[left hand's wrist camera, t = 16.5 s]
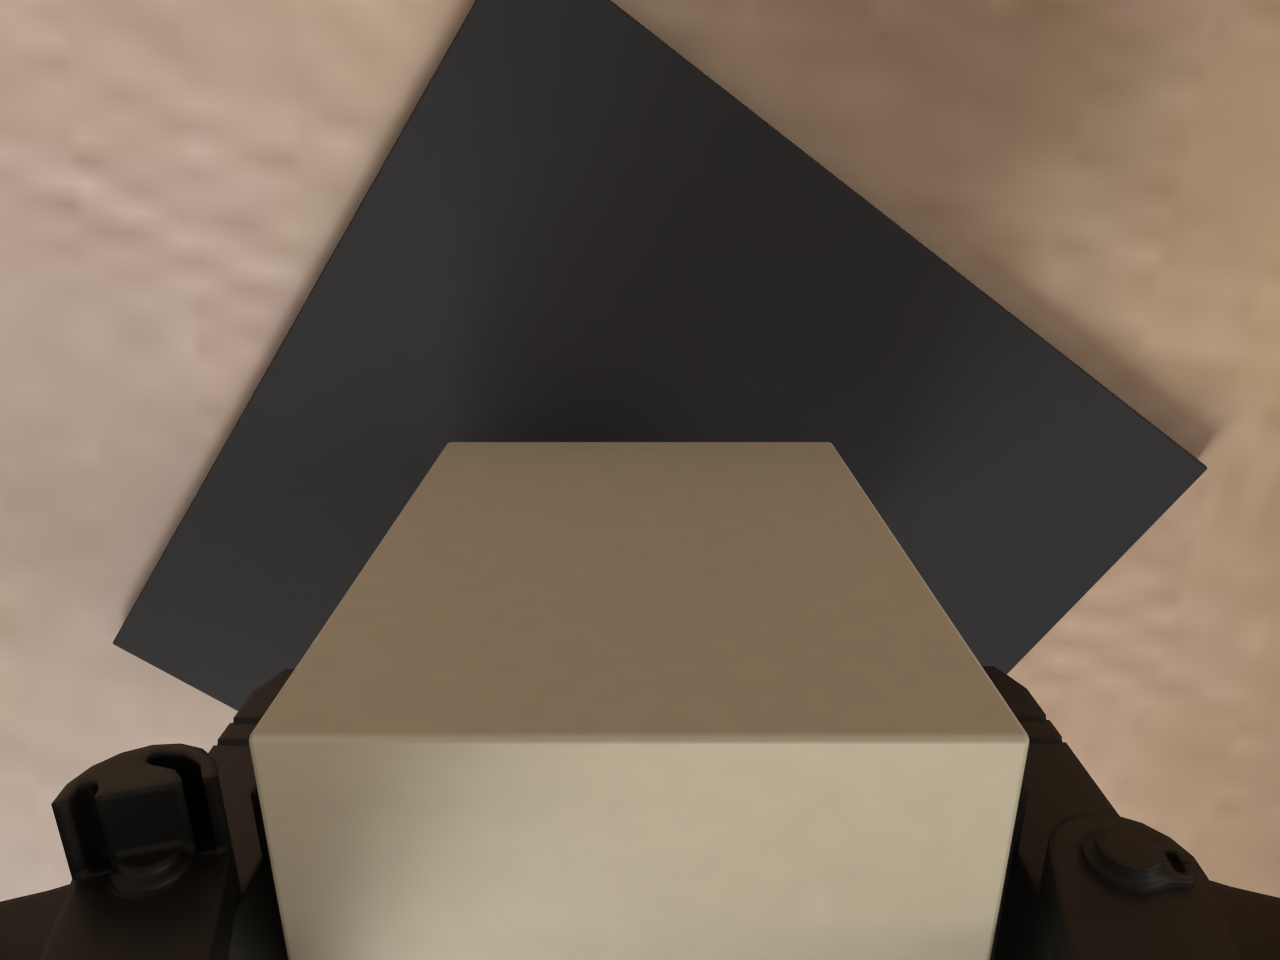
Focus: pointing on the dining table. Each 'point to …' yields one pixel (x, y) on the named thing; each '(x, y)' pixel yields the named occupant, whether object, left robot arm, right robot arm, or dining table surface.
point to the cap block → (639, 724)
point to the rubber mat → (640, 353)
